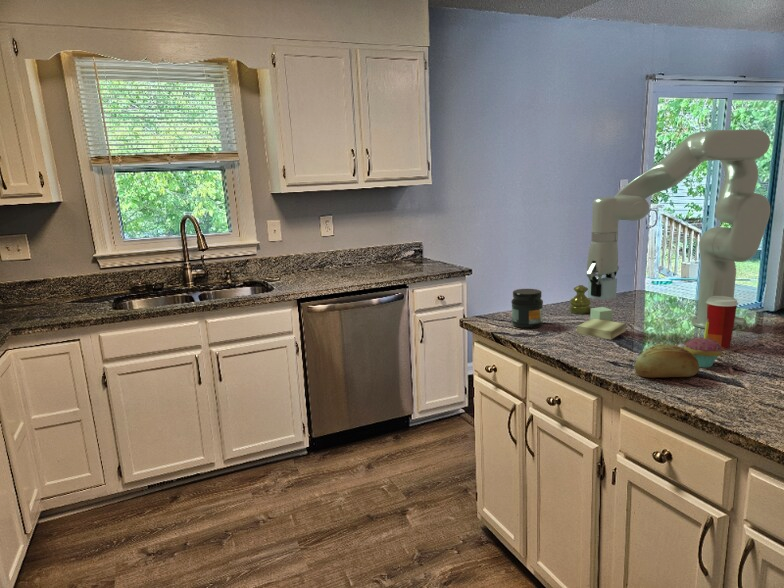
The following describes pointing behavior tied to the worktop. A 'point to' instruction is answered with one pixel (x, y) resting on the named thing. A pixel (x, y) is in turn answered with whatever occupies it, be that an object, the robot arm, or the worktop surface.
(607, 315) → the sage block
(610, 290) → the blue cube
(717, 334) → the paper cup
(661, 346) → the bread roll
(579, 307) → the olive pawn figure
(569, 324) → the worktop surface
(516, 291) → the supplement container
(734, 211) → the robot arm
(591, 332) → the maple slab
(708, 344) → the cupcake
